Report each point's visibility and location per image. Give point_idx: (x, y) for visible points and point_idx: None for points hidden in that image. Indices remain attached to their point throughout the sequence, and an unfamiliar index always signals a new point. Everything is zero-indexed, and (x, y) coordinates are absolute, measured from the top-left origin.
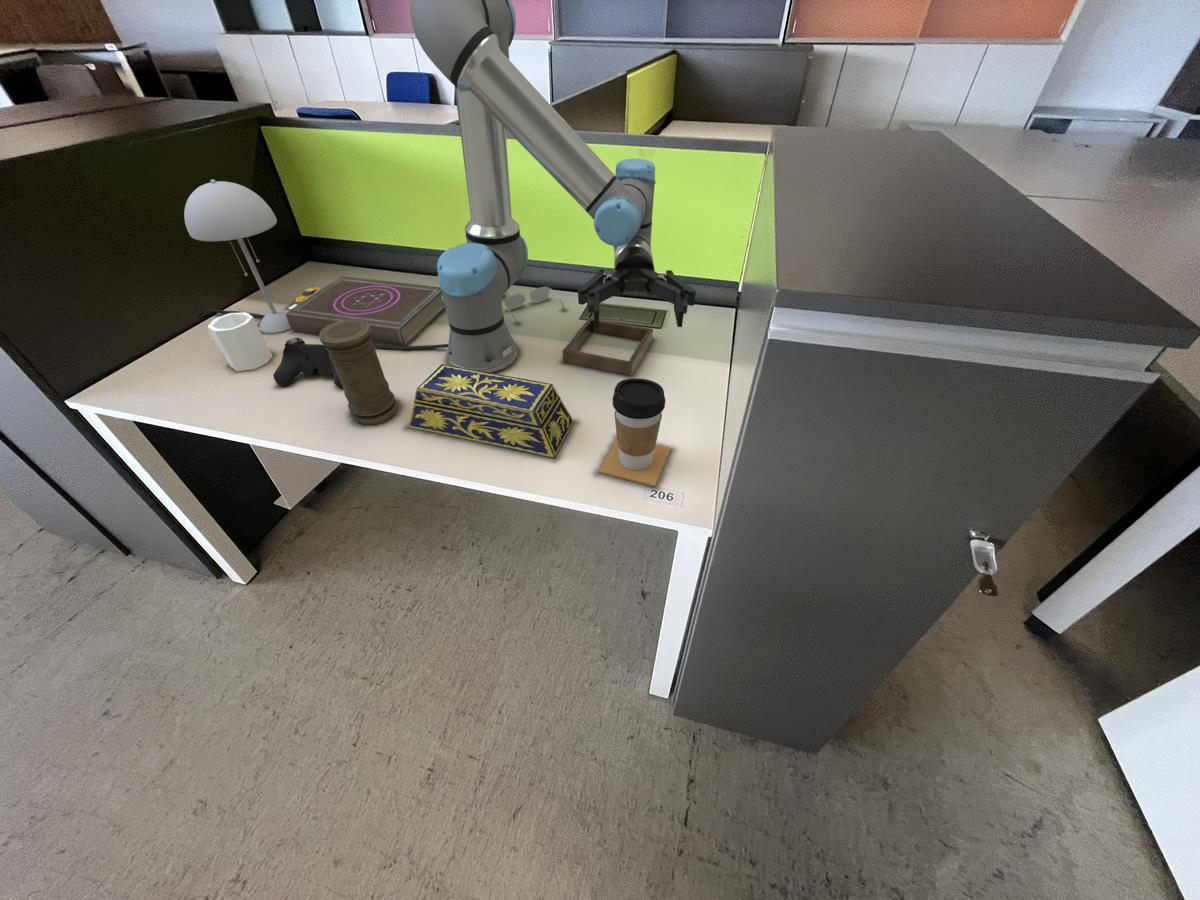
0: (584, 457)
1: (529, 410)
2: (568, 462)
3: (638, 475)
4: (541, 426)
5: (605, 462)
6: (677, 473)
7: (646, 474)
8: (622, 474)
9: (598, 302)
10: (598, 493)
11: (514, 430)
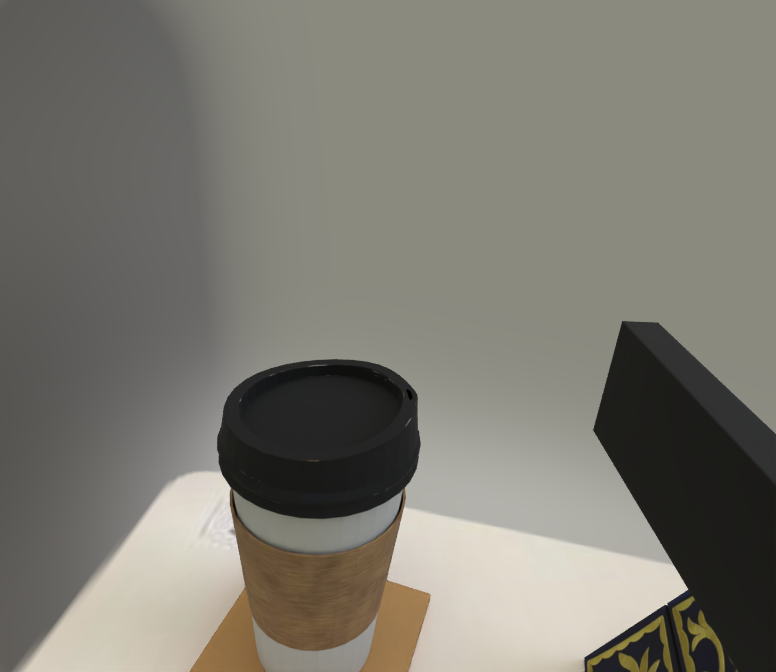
0: (488, 666)
1: None
2: (534, 643)
3: None
4: (668, 606)
5: (415, 627)
6: (191, 595)
7: None
8: None
9: (703, 402)
10: (422, 537)
11: None
